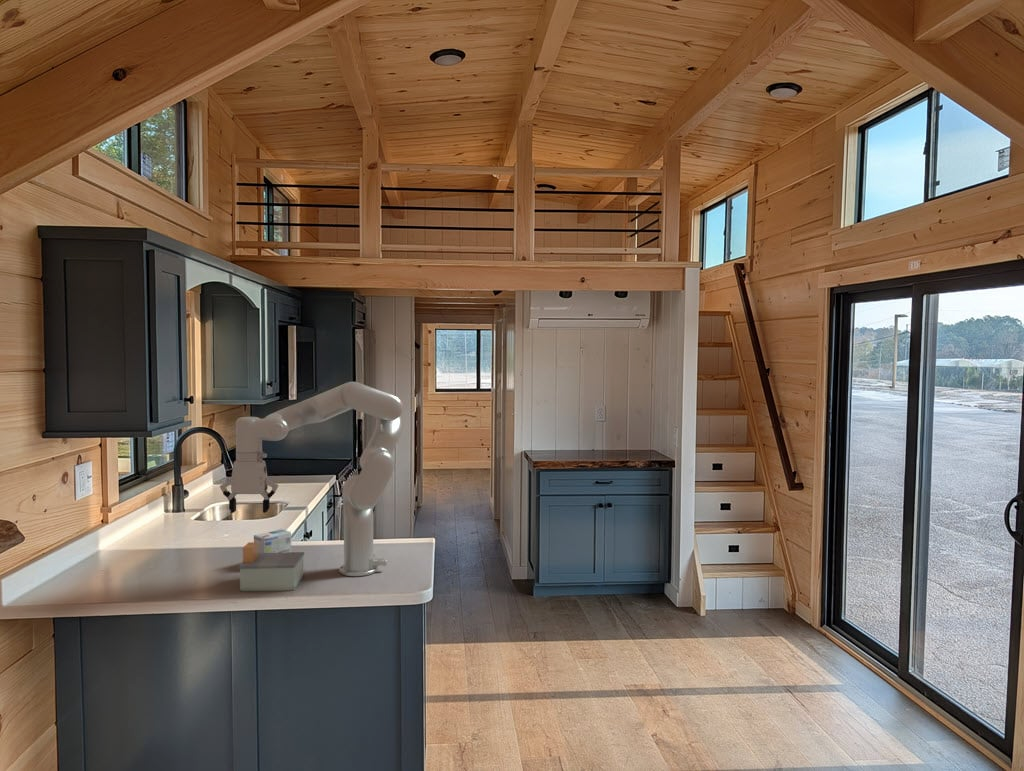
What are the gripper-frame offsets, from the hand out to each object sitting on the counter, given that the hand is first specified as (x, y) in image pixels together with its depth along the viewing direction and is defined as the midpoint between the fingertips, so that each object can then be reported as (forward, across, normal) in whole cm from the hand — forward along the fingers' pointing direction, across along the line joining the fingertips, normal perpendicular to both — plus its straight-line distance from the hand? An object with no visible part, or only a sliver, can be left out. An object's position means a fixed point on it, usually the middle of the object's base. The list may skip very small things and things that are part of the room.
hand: (249, 511), depth 215 cm
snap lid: (+17, -7, 0) cm, 18 cm away
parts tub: (+23, -7, 0) cm, 24 cm away
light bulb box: (+23, -2, -20) cm, 31 cm away
